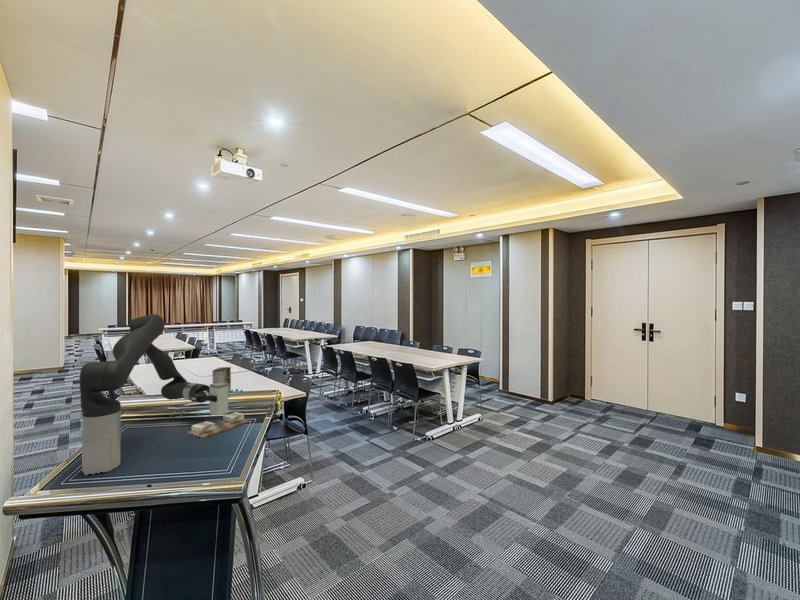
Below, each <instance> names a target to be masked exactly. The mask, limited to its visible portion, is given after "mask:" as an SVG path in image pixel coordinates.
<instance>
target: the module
mask: <svg viewBox="0 0 800 600" xmlns="http://www.w3.org/2000/svg"><path fill="white" fill-rule="evenodd" d="M209 387H210V395H213V396H217V402H212V401H209V414H210V415H212V416H218V417H219V416H221V415H226V414H229V403H228V400H229V399H228V384H227V383H221V382H219V383H214V384H213V383H211V384H209Z"/></svg>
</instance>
